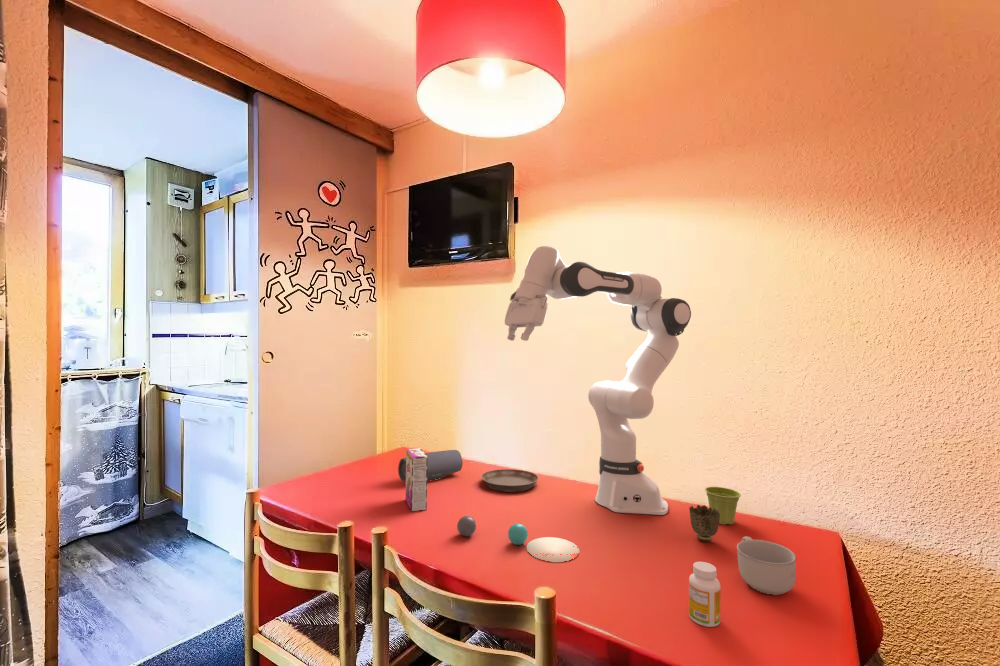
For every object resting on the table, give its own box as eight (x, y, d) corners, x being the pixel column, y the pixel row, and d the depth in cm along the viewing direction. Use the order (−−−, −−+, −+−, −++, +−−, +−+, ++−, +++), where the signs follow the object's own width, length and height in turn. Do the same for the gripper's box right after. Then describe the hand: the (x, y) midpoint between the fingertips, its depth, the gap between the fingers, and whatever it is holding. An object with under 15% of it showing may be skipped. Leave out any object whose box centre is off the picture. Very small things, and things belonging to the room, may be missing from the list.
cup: (702, 547, 112) (702, 516, 112) (682, 535, 119) (683, 505, 119) (726, 545, 114) (726, 513, 114) (706, 533, 121) (706, 503, 121)
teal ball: (529, 541, 114) (529, 521, 114) (524, 549, 109) (525, 529, 109) (510, 538, 115) (511, 519, 115) (505, 546, 110) (505, 526, 110)
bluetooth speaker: (449, 471, 174) (450, 446, 174) (463, 477, 167) (463, 450, 167) (396, 482, 159) (397, 454, 160) (409, 489, 152) (409, 459, 153)
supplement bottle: (711, 610, 85) (711, 559, 86) (726, 628, 80) (726, 573, 80) (683, 610, 85) (684, 559, 85) (697, 628, 80) (697, 573, 80)
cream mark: (582, 542, 114) (582, 541, 114) (575, 566, 101) (575, 565, 101) (533, 534, 117) (533, 534, 117) (520, 557, 105) (520, 556, 105)
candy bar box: (404, 499, 141) (405, 448, 142) (419, 498, 143) (421, 447, 144) (410, 512, 131) (412, 457, 131) (427, 510, 133) (428, 455, 133)
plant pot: (709, 512, 136) (709, 484, 136) (743, 520, 130) (743, 491, 130) (700, 521, 129) (701, 491, 129) (736, 530, 123) (736, 499, 123)
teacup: (805, 605, 88) (805, 564, 88) (746, 598, 90) (746, 558, 90) (776, 570, 101) (776, 535, 102) (725, 564, 104) (726, 530, 104)
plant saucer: (480, 476, 169) (480, 468, 169) (534, 476, 170) (534, 468, 170) (481, 495, 148) (481, 485, 148) (542, 495, 150) (542, 485, 150)
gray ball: (478, 533, 118) (479, 514, 118) (471, 541, 113) (472, 521, 113) (461, 530, 119) (461, 511, 119) (453, 538, 114) (454, 518, 115)
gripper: (557, 297, 124) (542, 343, 122) (525, 303, 143) (511, 343, 140) (538, 289, 121) (523, 336, 119) (508, 295, 140) (494, 336, 138)
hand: (516, 340), depth 130 cm, fingers open, 8 cm apart
